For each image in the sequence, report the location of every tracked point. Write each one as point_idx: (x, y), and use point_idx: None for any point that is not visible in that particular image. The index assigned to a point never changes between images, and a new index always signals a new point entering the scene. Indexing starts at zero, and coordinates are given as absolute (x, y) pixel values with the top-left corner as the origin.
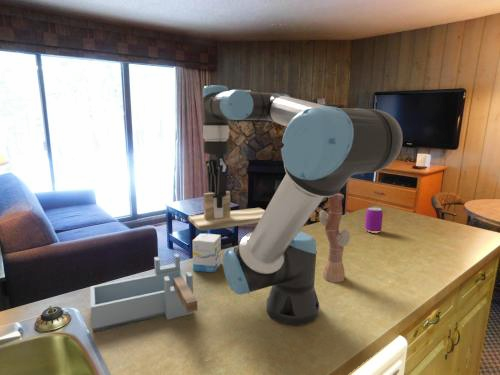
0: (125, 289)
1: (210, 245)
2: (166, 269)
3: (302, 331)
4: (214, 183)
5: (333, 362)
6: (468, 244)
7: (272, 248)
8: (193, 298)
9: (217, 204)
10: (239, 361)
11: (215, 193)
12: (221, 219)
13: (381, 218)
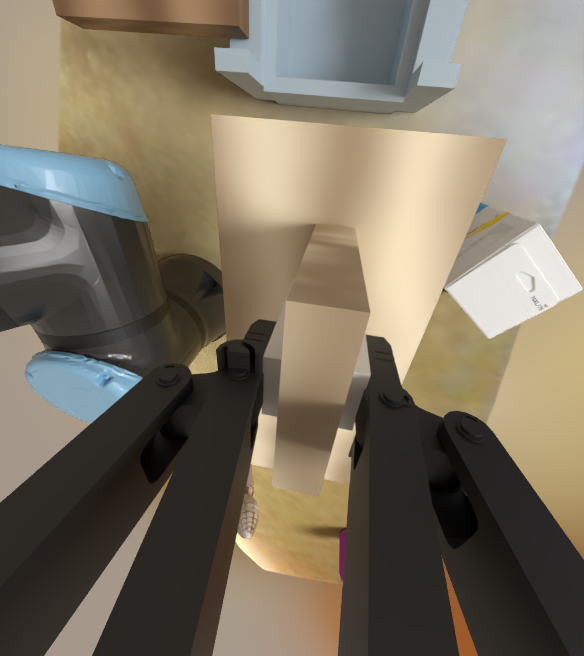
0: None
1: (453, 273)
2: (426, 17)
3: None
4: (220, 519)
5: None
6: (254, 542)
7: None
8: (71, 6)
9: (262, 335)
10: (80, 126)
11: (235, 389)
12: (280, 304)
13: (339, 563)
